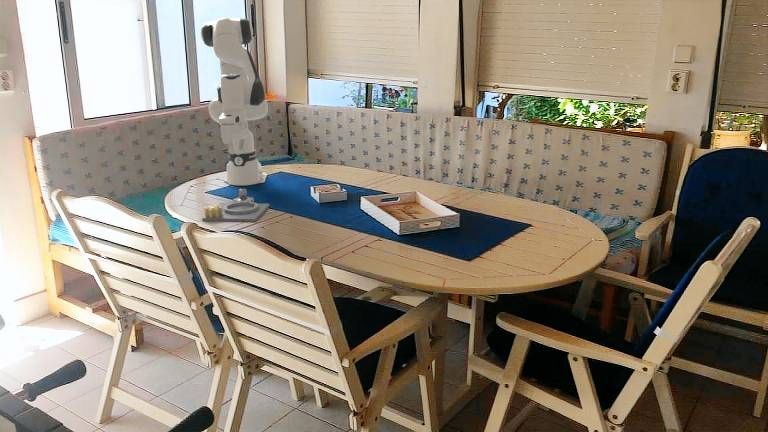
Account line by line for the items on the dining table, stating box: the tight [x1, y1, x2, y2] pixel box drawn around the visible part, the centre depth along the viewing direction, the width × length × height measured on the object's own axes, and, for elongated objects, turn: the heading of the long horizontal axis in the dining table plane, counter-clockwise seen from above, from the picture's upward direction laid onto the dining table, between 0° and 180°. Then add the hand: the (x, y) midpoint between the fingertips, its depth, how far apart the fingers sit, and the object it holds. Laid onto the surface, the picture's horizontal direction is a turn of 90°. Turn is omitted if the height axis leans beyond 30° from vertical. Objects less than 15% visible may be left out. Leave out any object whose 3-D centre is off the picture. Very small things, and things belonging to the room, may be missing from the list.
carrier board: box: [201, 201, 271, 223], centre depth 241 cm, size 20×20×4 cm
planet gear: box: [232, 188, 255, 203], centre depth 255 cm, size 8×8×6 cm
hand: (237, 151), depth 248 cm, fingers open, 8 cm apart
